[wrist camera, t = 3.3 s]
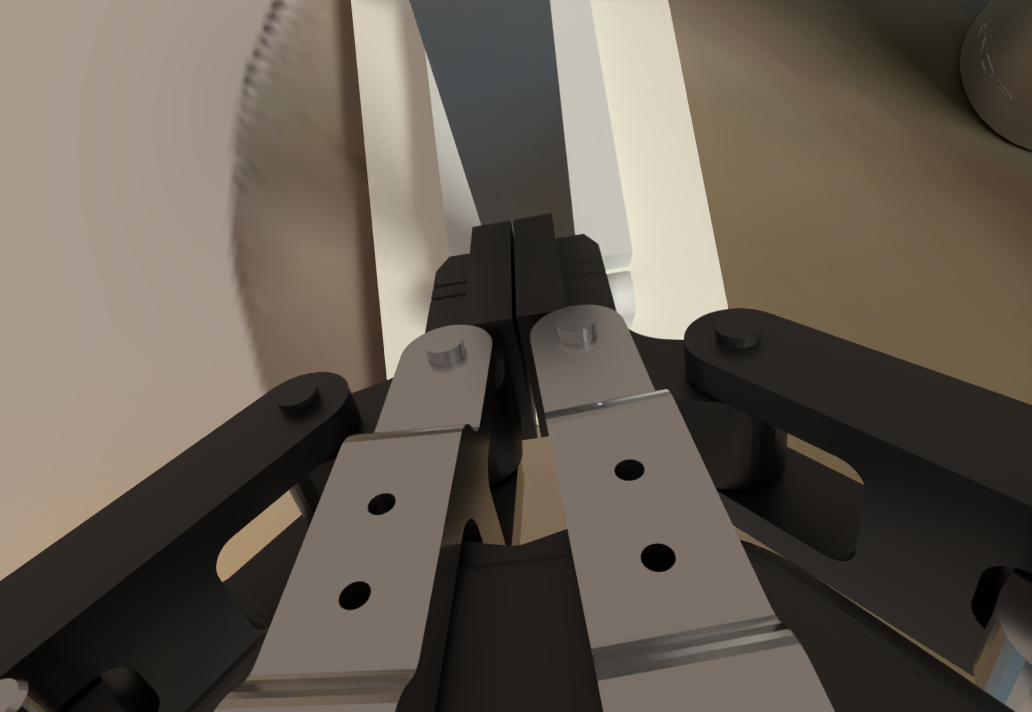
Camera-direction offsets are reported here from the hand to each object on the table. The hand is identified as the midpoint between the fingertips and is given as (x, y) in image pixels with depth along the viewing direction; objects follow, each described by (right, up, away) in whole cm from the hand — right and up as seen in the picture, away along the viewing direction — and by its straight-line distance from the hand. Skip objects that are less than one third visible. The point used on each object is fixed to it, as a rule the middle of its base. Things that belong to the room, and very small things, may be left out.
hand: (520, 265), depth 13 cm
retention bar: (0, +5, +8) cm, 9 cm away
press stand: (+1, +7, +22) cm, 23 cm away
